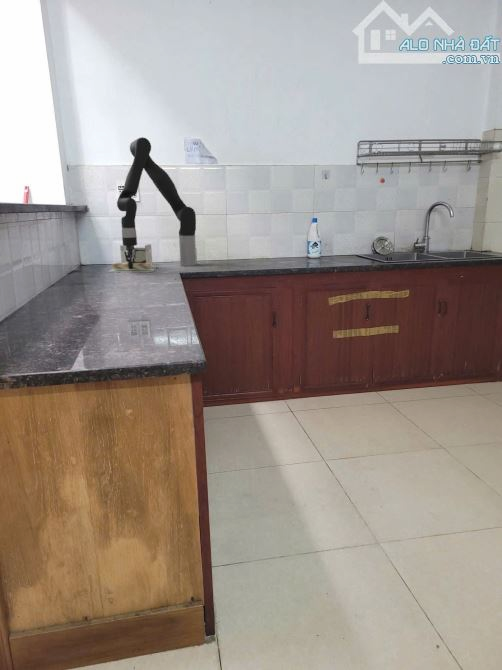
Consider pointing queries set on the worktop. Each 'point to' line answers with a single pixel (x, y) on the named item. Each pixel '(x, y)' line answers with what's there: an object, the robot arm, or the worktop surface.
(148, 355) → the worktop surface
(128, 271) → the mat
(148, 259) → the rack
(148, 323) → the worktop surface
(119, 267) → the rail
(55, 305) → the worktop surface
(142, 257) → the food container
